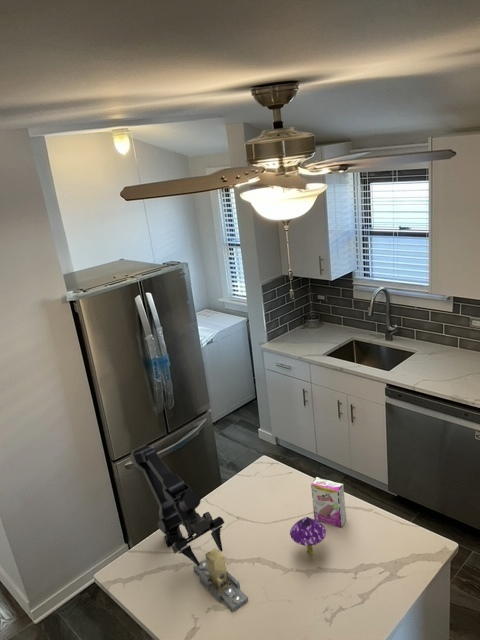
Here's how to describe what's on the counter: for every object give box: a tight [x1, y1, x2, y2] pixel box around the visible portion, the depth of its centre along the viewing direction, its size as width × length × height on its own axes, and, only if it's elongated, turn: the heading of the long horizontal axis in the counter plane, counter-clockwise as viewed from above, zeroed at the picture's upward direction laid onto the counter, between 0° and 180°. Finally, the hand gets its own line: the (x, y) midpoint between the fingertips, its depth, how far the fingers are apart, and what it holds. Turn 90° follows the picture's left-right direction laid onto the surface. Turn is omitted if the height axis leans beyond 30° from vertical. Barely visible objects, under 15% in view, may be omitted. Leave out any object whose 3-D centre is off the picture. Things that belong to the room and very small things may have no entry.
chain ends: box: [193, 559, 249, 612], centre depth 173 cm, size 23×8×2 cm, turn 37°
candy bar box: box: [310, 476, 347, 528], centre depth 194 cm, size 11×5×16 cm, turn 58°
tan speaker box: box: [205, 547, 230, 592], centre depth 171 cm, size 5×4×12 cm
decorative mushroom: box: [289, 516, 327, 555], centre depth 179 cm, size 12×12×15 cm
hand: (210, 558), depth 173 cm, fingers open, 9 cm apart
